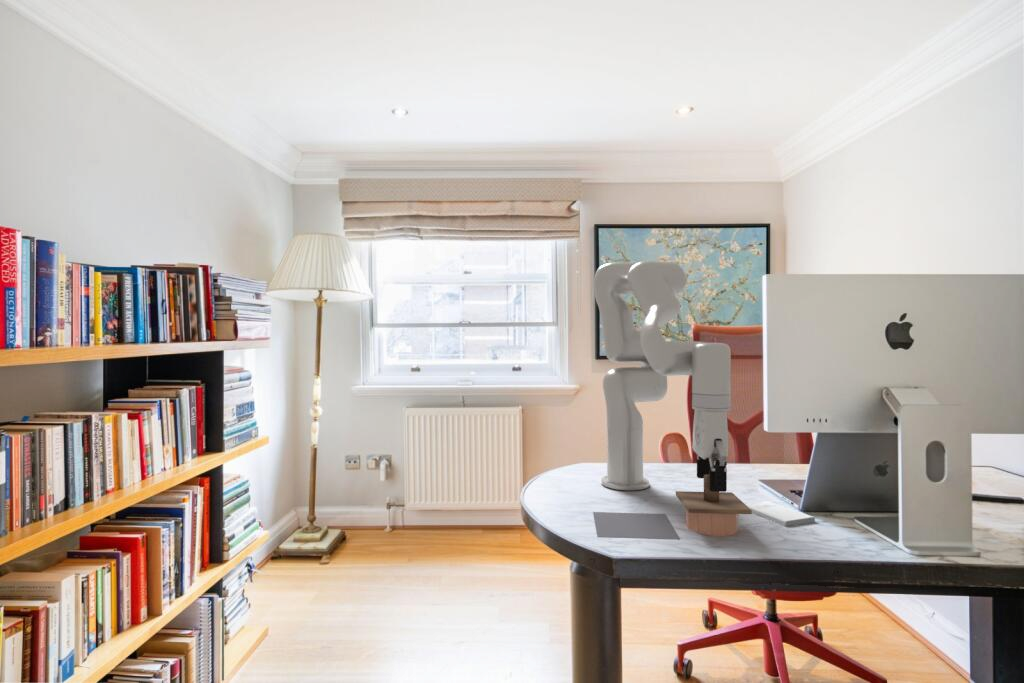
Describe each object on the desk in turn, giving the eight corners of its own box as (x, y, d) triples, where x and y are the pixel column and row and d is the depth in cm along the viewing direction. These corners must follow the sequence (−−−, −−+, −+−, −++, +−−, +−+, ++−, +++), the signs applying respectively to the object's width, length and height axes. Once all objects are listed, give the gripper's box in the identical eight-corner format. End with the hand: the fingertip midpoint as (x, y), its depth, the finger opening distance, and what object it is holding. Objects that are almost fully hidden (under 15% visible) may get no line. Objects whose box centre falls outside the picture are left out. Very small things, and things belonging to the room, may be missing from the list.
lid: (675, 494, 117) (675, 468, 117) (732, 496, 115) (731, 469, 115) (688, 512, 105) (688, 483, 105) (751, 514, 103) (751, 484, 103)
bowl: (681, 519, 115) (681, 496, 115) (729, 520, 114) (729, 497, 114) (693, 536, 105) (692, 511, 105) (745, 537, 105) (744, 512, 104)
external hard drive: (785, 528, 111) (741, 510, 123) (815, 524, 114) (769, 506, 125) (785, 521, 111) (741, 503, 123) (815, 516, 113) (769, 499, 125)
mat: (593, 513, 120) (593, 512, 120) (665, 515, 118) (665, 513, 118) (597, 538, 105) (597, 536, 105) (680, 540, 103) (680, 539, 103)
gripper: (683, 397, 119) (683, 473, 119) (703, 407, 102) (703, 496, 102) (717, 397, 118) (717, 473, 118) (744, 408, 101) (743, 497, 101)
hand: (710, 484), depth 110 cm, fingers open, 9 cm apart
